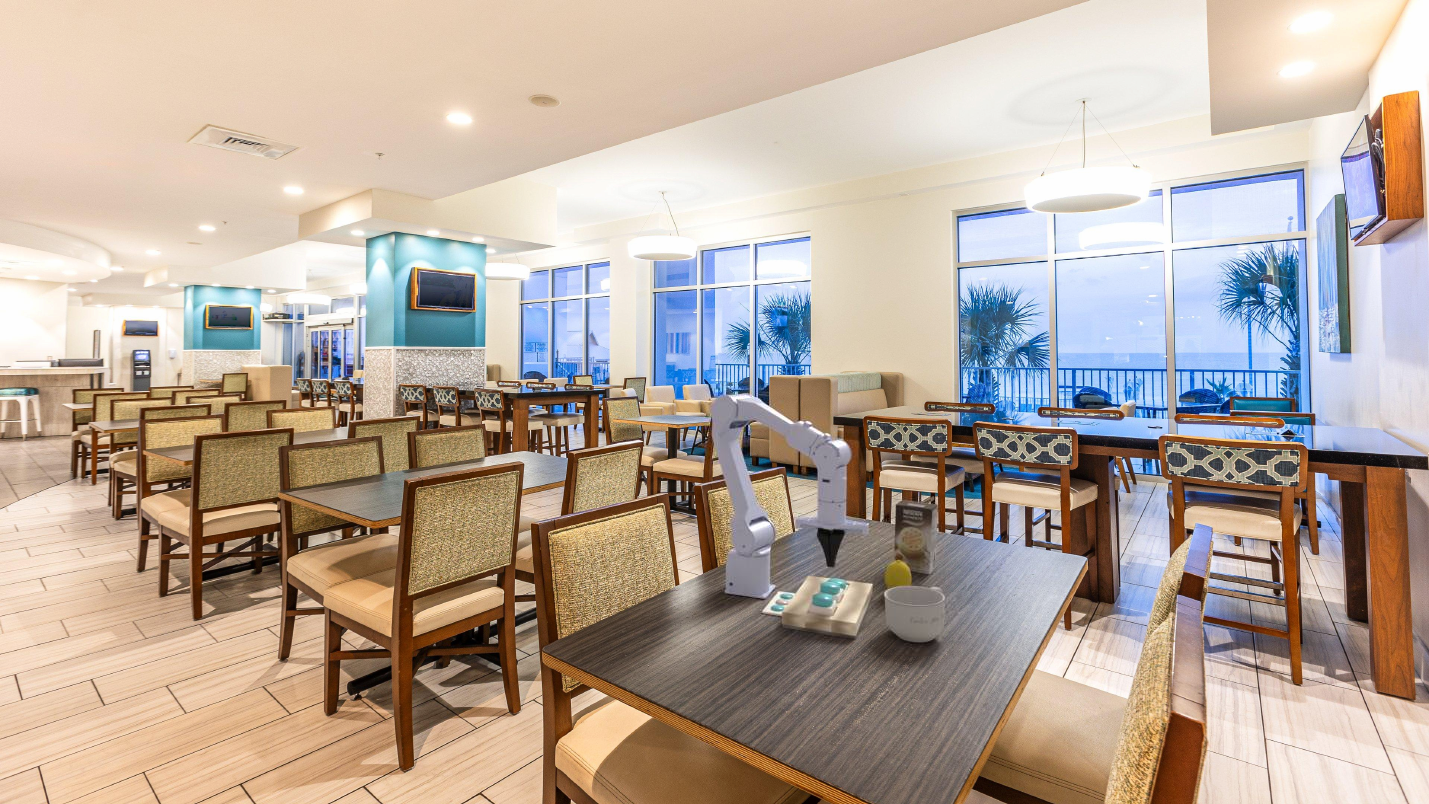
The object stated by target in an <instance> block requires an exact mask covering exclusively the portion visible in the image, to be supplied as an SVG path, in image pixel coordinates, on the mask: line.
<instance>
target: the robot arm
mask: <svg viewBox="0 0 1429 804" xmlns="http://www.w3.org/2000/svg"><path fill="white" fill-rule="evenodd" d="M709 413H710V417H711V420H712V428H711V437H712V442H713V445H714V448H715V451H716V455H717V458H718V462H719V466H720V468H721V472H722V475H723V478H724V482H725V485H726V488H727V491H728V495H729V497H730V498H729V499H730V502H731V505H732V508H733V511H734V512H733V516H732V517H731V519H730V522H729V526H730V528H731V529H730V530H731V534H730V539H731V544H732V545H731V546H732V547H733V548H731V549H730V550H729V551H728V554H727V556H726V560H725V590H724V593H725V594H729V595H734V596H735V595H736V596H742V597H750V598H757V599H765V600H766V599H767V598H768V597H769V595H770V594H771V593H772V592H773V591H774V590H775V588H776V584H773V583H771V549H772V544H773V543H774V542H775V540H776V538H777V529H776V526H775V524H774V523H773V522H772V521H771V519H770V517H769V515H768V512H767V511H766V509H764V508H763V507H761V506H760V505H759V504H758V500H757V498H756V497H757V496H756V494H755V491H754V488H753V484H752V481H751V477H750V474H749V471H748V468H747V465H746V461H745V459H744V454H743V451H742V448H741V445H740V442H739V437H740V434H741V432H742V431H743V429H744V428H745V427H746V426H747V425H748V424H749V423H750V422H752V421H756V422H758V423H759V424H761V425H764V426H766V427H767V428H769V429H771V430H772V431H775V432H777V433H778V434H780V435H782V436H784V437H785V440H786V443H787V445H789V446H790V447H792V448H793V449H795V450H796V451H798V452H799V453H801V454H803V455H804V456H805V457H806V456H807V457H808V458H810V459H811V460H812V462H813V464H814V465H815V467H816V469H817V504H816V505H817V508H816V509H817V514H816V515H817V517H810V516H809V517H806V516H805V517H803V516H801V517H800V516H797V517H796V518H795V521H794V522H795V527H794V528H795V529H800V530H801V529H808V530H809V529H810V530H817V531H816V538H817V539H818V540H817V541H818V542H819V544H820V546H821V548H822V551H823V553H824V558H825V562H826V567H827V568H835V566H836V561H837V557H838V552H839V550H840V546H841V544H842V542H843V540H844V537H845V535H846V534H847V533H849V534H850V533H852V534H861V535H863V536H868V535H869V530H870V529H869V526H870V525H869V524H870V523H869V522H862V521H855V520H850V519H847V472H848V471H847V469H848V468H847V465H848V464H849V462H851V459H852V450H851V449H852V448H851V447H850V446H849V444H848V443H847V442H846V441H845V440H844V439H842V438H831V437H832V435H831V434H829V433H824V432H822V431H820V430H818V429H817V428H815V427H813V423H812V422H811V421H808V420H807V421H802V420H799V421H796V422H794V421H792V420H790V418H787V417H786V416H784V415H783V414H782V413H781V412H779V411H777V410H775V409H774V408H772V407H771V406H769V405H767V404H766V403H765V402H763V401H762V400H761V399H760V398H759V397H757V396H756V397H754V396H753V395H752V394H751V393H748V392H747V393H746V392H744V393H743V392H742V393H739V394H737V393H736V394H721V395H718V396H717V397H716V398H715V399H714V401H713V403H712V404H711V407H710V409H709Z"/></svg>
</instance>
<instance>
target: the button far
mask: <svg viewBox="0 0 1429 804" xmlns="http://www.w3.org/2000/svg"><path fill="white" fill-rule="evenodd" d="M846 581H847V580H846ZM846 581H845V580H844V579H842V578H833V577H832V578H830V579H828V580H827V582H835V583H838V584H839V585H840V588H841V589H843V591H847V589H848V587H849V585H846Z"/></svg>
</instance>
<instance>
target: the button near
mask: <svg viewBox="0 0 1429 804" xmlns="http://www.w3.org/2000/svg"><path fill="white" fill-rule="evenodd" d="M835 612H836V601H835V600H833V596H831V595H829V594H825V593H818V594H814V595H813V596H812V602H811V603H810V605H809V613H813V614H820V615H826V616H834V614H835Z"/></svg>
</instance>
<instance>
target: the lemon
mask: <svg viewBox="0 0 1429 804" xmlns="http://www.w3.org/2000/svg"><path fill="white" fill-rule="evenodd" d="M911 572H912V571H910V569H909V567H908V566H907V565H906V564H905V563H903V562H901V561H900V560H897V561H894V560H893V561H892V562H891V563H889V564H888V565H887V567H886V569H885V574H884V581H885V583H884V584H885V585H886V587H887V590H888V589H890V588H894V587H900V586H912V573H911Z"/></svg>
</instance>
